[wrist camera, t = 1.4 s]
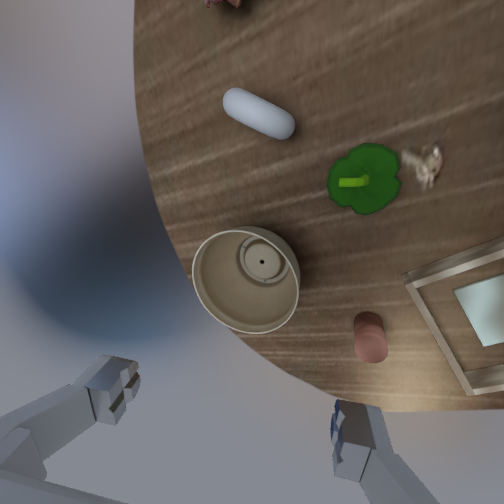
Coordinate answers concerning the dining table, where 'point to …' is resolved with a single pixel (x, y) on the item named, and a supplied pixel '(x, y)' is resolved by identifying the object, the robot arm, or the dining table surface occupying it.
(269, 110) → the donut
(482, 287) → the corral
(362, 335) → the reddish pink cylinder
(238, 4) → the pine cone
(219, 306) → the planter bowl
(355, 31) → the dining table surface
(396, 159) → the bell pepper
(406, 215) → the dining table surface
